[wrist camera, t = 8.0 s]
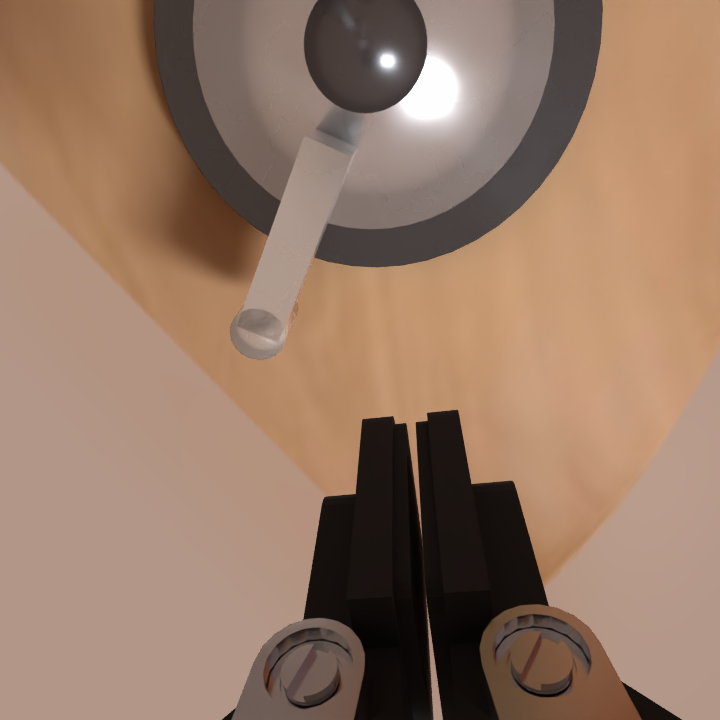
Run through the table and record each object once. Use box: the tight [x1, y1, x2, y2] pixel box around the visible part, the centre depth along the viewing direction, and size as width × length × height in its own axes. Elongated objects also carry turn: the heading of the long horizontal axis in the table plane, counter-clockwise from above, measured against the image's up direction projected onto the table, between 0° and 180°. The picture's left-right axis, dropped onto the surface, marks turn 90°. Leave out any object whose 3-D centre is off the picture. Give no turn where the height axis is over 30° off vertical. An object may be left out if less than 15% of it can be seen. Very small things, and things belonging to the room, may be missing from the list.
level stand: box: [154, 0, 603, 267], centre depth 22 cm, size 16×16×1 cm
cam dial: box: [193, 0, 555, 360], centre depth 21 cm, size 17×12×4 cm
